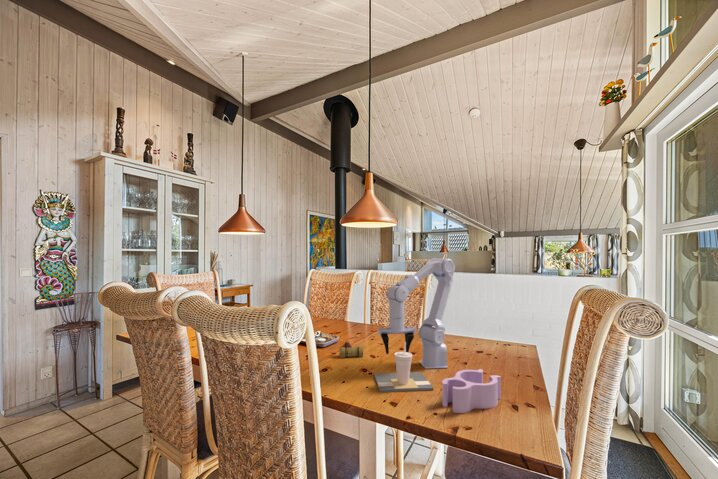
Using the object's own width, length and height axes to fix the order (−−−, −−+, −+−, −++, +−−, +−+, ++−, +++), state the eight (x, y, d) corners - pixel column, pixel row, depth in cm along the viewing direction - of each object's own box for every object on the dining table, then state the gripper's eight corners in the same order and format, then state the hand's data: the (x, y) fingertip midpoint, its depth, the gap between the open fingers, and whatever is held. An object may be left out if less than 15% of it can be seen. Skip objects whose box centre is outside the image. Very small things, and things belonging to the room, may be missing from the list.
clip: (465, 419, 88) (465, 393, 88) (432, 401, 99) (432, 378, 99) (508, 401, 99) (508, 378, 99) (474, 387, 109) (474, 366, 109)
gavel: (336, 338, 158) (355, 338, 160) (336, 348, 158) (356, 347, 159) (340, 348, 137) (363, 347, 139) (340, 359, 137) (363, 358, 139)
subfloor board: (421, 374, 120) (421, 371, 120) (433, 390, 106) (433, 387, 106) (374, 375, 118) (374, 373, 118) (380, 392, 104) (380, 389, 104)
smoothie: (411, 387, 106) (411, 345, 106) (392, 385, 107) (392, 343, 108) (413, 380, 112) (413, 340, 113) (395, 378, 114) (395, 338, 114)
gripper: (412, 314, 127) (412, 349, 126) (376, 315, 125) (376, 350, 125) (417, 318, 120) (417, 354, 119) (379, 319, 118) (379, 356, 118)
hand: (397, 352), depth 121 cm, fingers open, 7 cm apart
